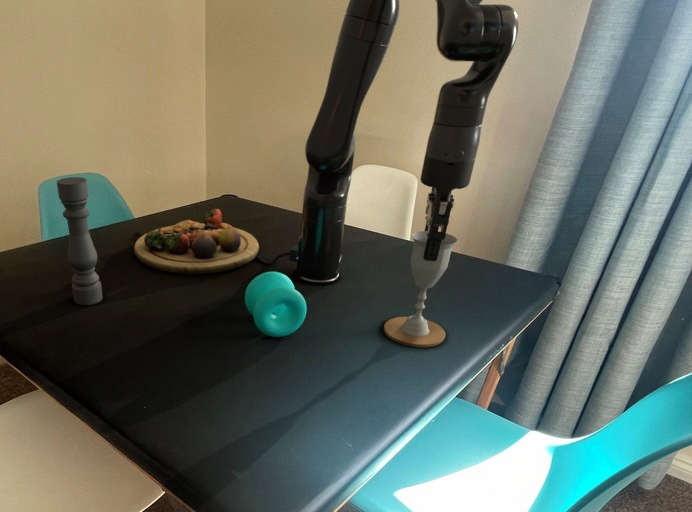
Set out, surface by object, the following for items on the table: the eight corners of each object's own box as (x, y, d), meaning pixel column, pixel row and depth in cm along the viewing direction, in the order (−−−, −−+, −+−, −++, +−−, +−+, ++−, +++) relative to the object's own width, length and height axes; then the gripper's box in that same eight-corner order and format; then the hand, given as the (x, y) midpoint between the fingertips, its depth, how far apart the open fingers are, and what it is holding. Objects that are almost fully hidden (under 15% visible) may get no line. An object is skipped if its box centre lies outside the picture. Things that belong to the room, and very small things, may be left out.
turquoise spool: (290, 313, 112) (294, 267, 107) (306, 337, 104) (310, 288, 99) (242, 317, 111) (243, 271, 106) (254, 342, 102) (256, 293, 97)
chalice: (435, 324, 106) (456, 233, 97) (435, 340, 101) (457, 246, 91) (395, 318, 108) (412, 229, 99) (394, 334, 103) (411, 242, 93)
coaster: (382, 342, 102) (383, 339, 101) (384, 316, 111) (385, 313, 110) (446, 350, 99) (447, 348, 99) (443, 323, 108) (443, 320, 108)
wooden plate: (185, 224, 162) (185, 195, 157) (281, 245, 146) (283, 214, 141) (108, 257, 140) (104, 225, 135) (210, 287, 124) (210, 252, 119)
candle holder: (108, 295, 121) (94, 178, 107) (91, 307, 116) (75, 186, 103) (84, 290, 123) (68, 175, 110) (67, 302, 118) (48, 183, 105)
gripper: (424, 144, 94) (407, 236, 103) (426, 162, 83) (406, 263, 91) (472, 146, 92) (449, 240, 101) (480, 165, 81) (454, 269, 89)
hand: (429, 251), depth 96 cm, fingers open, 8 cm apart
